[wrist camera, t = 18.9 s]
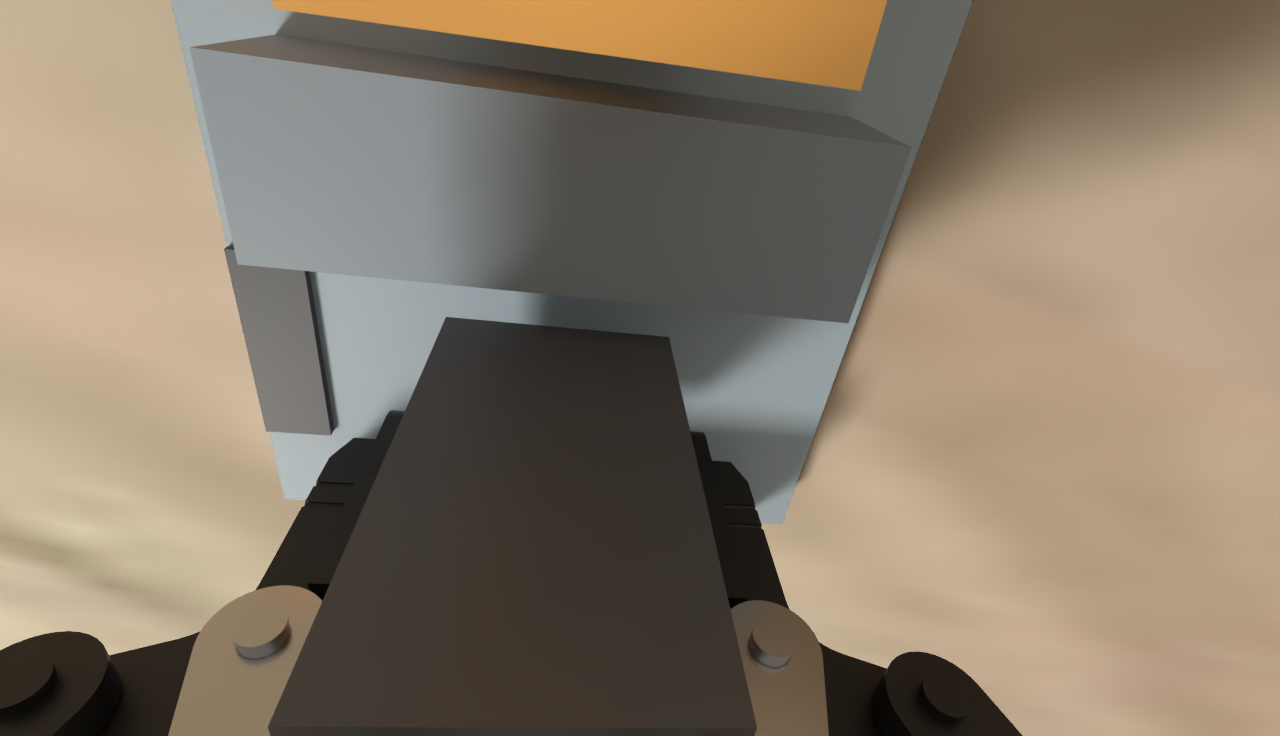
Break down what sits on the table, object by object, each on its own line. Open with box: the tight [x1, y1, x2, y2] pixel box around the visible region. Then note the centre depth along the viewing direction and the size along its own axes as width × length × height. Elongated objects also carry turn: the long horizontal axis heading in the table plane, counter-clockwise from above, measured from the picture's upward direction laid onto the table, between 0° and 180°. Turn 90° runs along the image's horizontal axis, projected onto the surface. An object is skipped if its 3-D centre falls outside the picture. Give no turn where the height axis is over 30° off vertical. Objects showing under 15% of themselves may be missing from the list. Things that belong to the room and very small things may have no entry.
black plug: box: [268, 317, 757, 736], centre depth 9 cm, size 4×4×7 cm
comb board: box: [171, 0, 973, 524], centre depth 11 cm, size 13×18×4 cm
